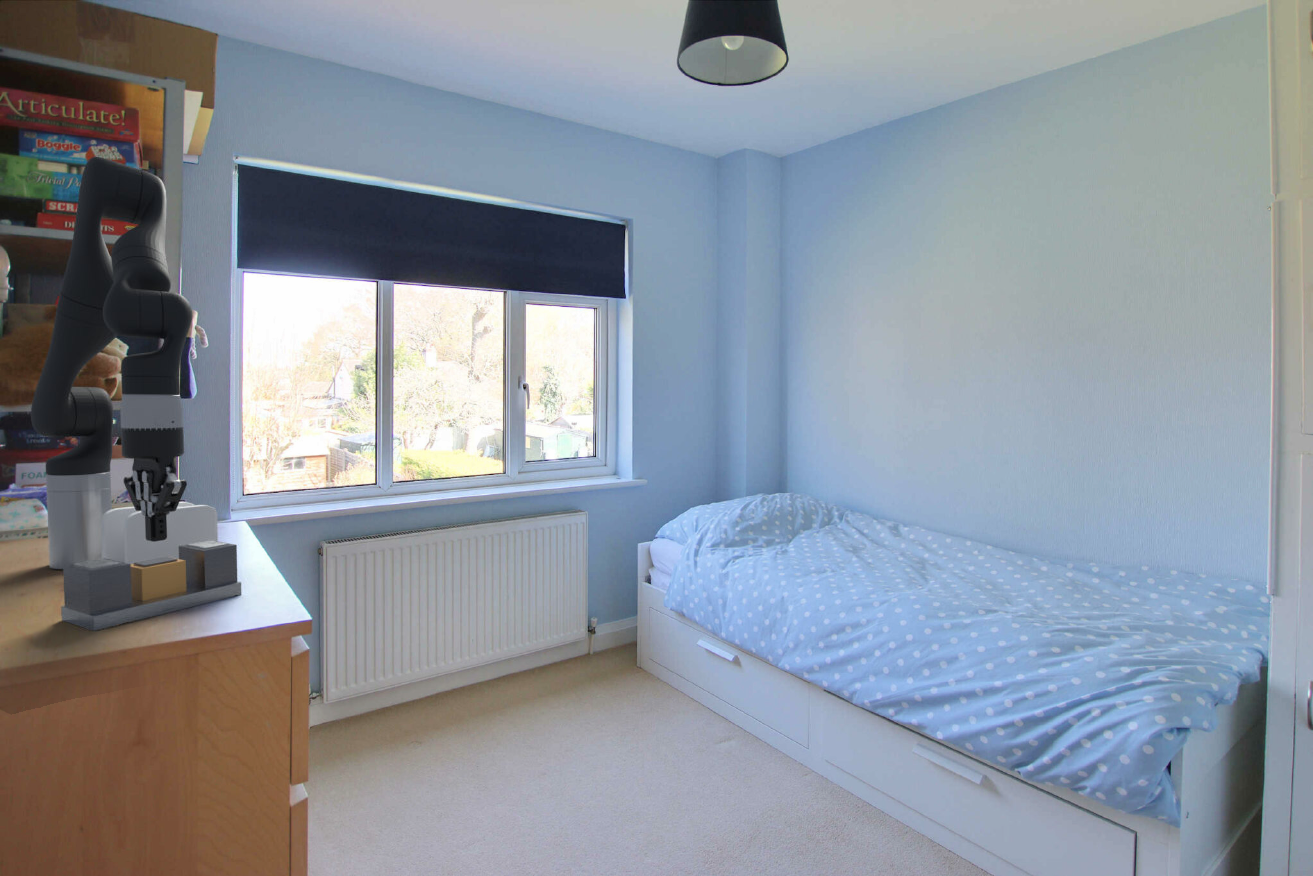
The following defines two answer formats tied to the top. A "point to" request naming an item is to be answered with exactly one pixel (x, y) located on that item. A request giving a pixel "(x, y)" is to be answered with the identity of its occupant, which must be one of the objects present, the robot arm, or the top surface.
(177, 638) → the top surface
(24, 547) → the top surface
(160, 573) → the orange module
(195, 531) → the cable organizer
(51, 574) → the top surface
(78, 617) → the rail plate
